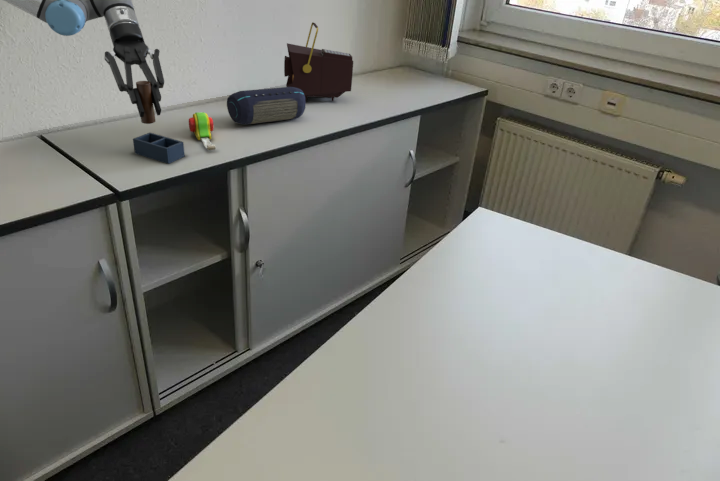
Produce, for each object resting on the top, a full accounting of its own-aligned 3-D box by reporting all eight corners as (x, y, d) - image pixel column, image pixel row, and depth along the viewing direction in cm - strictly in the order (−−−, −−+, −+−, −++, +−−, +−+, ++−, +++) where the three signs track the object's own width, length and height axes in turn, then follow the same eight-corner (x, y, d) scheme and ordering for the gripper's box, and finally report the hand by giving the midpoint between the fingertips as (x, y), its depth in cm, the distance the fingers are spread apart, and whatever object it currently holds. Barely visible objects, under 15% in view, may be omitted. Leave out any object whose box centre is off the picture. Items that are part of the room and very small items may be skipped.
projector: (282, 91, 199) (283, 19, 187) (344, 93, 204) (349, 23, 192) (285, 103, 185) (286, 26, 173) (351, 105, 190) (357, 30, 178)
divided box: (151, 146, 146) (149, 132, 144) (184, 156, 143) (183, 141, 140) (134, 153, 142) (132, 138, 140) (168, 163, 138) (166, 148, 136)
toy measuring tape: (208, 128, 162) (207, 106, 159) (223, 150, 147) (222, 126, 144) (186, 129, 159) (184, 107, 156) (199, 151, 144) (197, 128, 141)
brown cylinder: (138, 121, 138) (132, 82, 133) (148, 118, 141) (143, 79, 136) (148, 124, 137) (142, 85, 132) (158, 121, 139) (153, 82, 134)
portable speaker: (238, 130, 160) (237, 96, 155) (224, 120, 167) (223, 88, 162) (310, 121, 174) (312, 90, 169) (295, 112, 180) (295, 82, 176)
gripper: (89, 22, 130) (116, 110, 127) (159, 20, 138) (186, 102, 135) (89, 40, 136) (115, 124, 133) (156, 37, 145) (181, 116, 142)
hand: (150, 113), depth 134 cm, fingers closed on brown cylinder, 3 cm apart
